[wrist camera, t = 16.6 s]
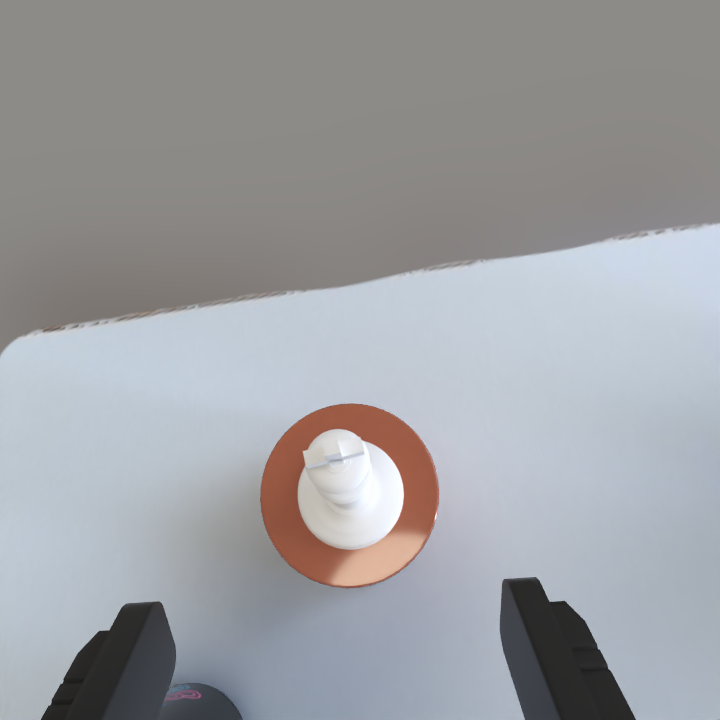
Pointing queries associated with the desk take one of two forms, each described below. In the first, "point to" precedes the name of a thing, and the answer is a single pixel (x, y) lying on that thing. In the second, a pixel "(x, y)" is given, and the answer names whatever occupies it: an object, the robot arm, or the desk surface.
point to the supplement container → (197, 704)
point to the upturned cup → (358, 563)
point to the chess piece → (349, 491)
